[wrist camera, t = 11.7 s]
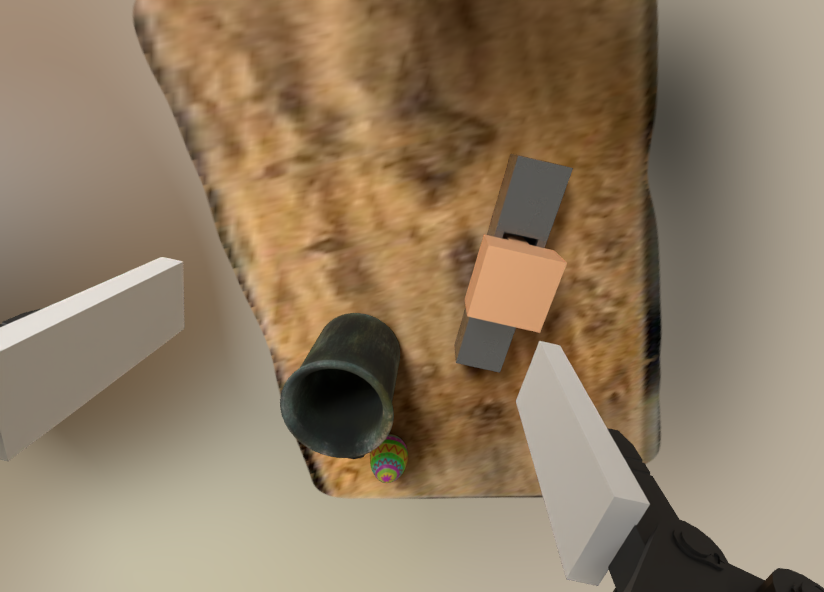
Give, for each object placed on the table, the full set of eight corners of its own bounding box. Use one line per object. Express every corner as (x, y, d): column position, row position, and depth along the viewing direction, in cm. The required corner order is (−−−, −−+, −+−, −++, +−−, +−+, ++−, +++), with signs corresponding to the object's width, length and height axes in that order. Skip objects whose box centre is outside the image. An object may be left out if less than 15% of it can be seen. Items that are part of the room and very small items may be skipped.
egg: (388, 423, 52) (382, 457, 46) (416, 443, 53) (413, 479, 47) (366, 443, 54) (357, 479, 48) (393, 463, 55) (388, 500, 49)
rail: (510, 153, 38) (518, 155, 35) (560, 165, 38) (572, 168, 35) (454, 344, 47) (455, 362, 43) (495, 353, 47) (499, 372, 43)
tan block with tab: (524, 303, 43) (539, 332, 37) (463, 289, 43) (467, 316, 36) (546, 242, 40) (566, 263, 34) (481, 227, 40) (488, 245, 34)
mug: (398, 303, 45) (385, 358, 34) (411, 406, 51) (403, 482, 40) (308, 310, 46) (266, 365, 35) (330, 410, 52) (300, 485, 41)
